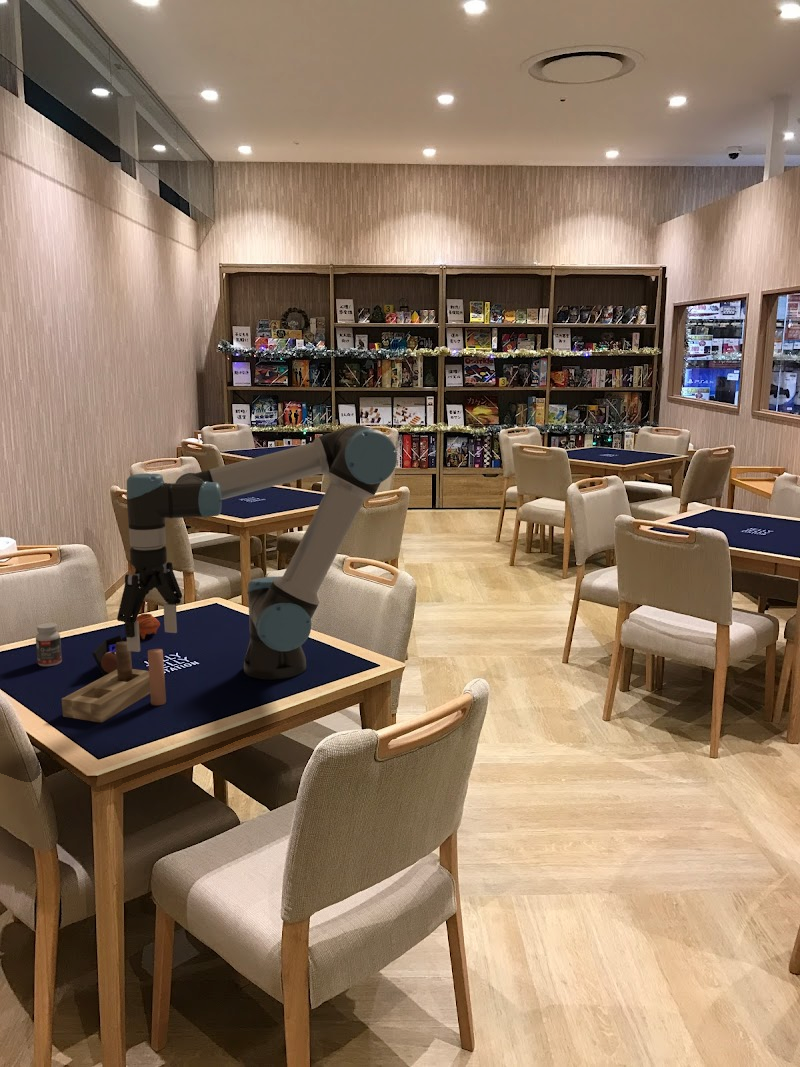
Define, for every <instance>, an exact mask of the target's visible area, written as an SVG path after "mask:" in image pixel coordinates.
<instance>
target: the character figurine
mask: <svg viewBox="0 0 800 1067" xmlns="http://www.w3.org/2000/svg"><path fill="white" fill-rule="evenodd" d="M123 641H124V640H123V639H122V636H121V635H120V634H119V635H116V636H114V637H111V638H109V639H105V640H103V641H102V642H101V643H100V644H99V646H97V647H96V648H95V650H94V651H93V652H92V653H91V654H92V656H93V658H94V660H95V662H96V664H97V666H98V669H99V672H100V673H101V675H102V677H103V676H105V675H107V674H109V673H111V672H113V671H115V670H117V661H116V648H115V644H116V643H118V642H123ZM132 652H133V651H131V653H132Z"/></svg>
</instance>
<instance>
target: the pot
mask: <svg viewBox="0 0 800 1067" xmlns="http://www.w3.org/2000/svg"><path fill="white" fill-rule="evenodd" d="M136 621H139V635H140V637H141V639H142V640H145V638H146V635H150V634H152V633H153V635H156V634H157V631H158V629H159V627H160V626H161V622H160V621H159V620H158V619H157V618H156V617H154V616H153V615H152V614H151V613H141V614H138V616H137V619H136Z"/></svg>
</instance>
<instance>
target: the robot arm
mask: <svg viewBox="0 0 800 1067" xmlns="http://www.w3.org/2000/svg"><path fill="white" fill-rule="evenodd" d="M397 461H398V454H397V449H396V446H395V444H394V442H393V441H392V440H391V438H390V437H389V436H388V435H387V434H385V433H384V432H383V431H381V430H379V429H376V428H373V427H368V426H365V425H360V424H359V425H350V426H347V427H344V428H343V427H342V428H341V429H337V430H335V431H332V432H330V433H327V434H323V435H319V436H316V437H315V438H314V440H313V442H310V443H305V444H303V445H298V446H295V447H291V448H287V449H283V450H282V449H281V450H278V451H275V452H272V453H268V454H263V455H261V456H256V457H253V458H249V459H244V460H241V461H237V462H233V463H229V464H226V465H222V466H217V467H214V468H210V469H207V470H202V471H199V472H187V473H184V474H181V475H180V476H179V477H178V478H177V479H176V481H175V482H174V483H168V482H164V477H163V476H162V474H159V473H138V474H137V473H136V474H132V475H130V476H129V477H128V478H127V479H126V505H127V506H126V508H127V522H128V533H129V536H128V537H129V546H130V547H131V548H130V549H129V554H130V555H129V558H130V559H129V560H130V565H131V566H133V567H134V574H127V573H126V574H125V576H124V586H123V591H122V596H121V600H120V603H119V604H120V605H119V609H118V614H117V617H116V620H117V622H122V623H124V629H125V631H124V632H125V637H126V641H127V651H132V652H134V653H136V652H137V653H139V652H141V640H140V639H141V638H140V637H141V635H140V634H139V621H136V619H137V617H138V615H140V610H141V608H142V606H143V604H144V601H145V598H146V596H147V595H148V594H149V593H150V591H153V589H156V590H157V592H158V593H159V594H160V596H161V597H162V598H163V600H164V602H166V603H163V620H164V633H170V634H171V633H172V634H177V633H178V627H177V626H178V625H177V624H178V623H177V614H178V613H177V605H179V604H181V599H182V598H183V594H182V591H181V588H180V586H179V583H178V581H177V578H176V575H175V572H174V568H173V563H172V562H170V561H168V558H167V556H168V555H167V554H168V552H167V547H166V546H165V545H166V544H167V533H166V519H178V518H210V517H218V516H220V514H221V513H222V507H223V506H222V505H223V504H222V500H223V501H224V500H227V499H229V498H233V497H237V496H238V497H239V496H242V495H245V494H248V493H253V492H256V491H260V490H264V489H268V488H271V487H274V486H275V487H276V486H279V485H282V484H286V483H290V482H295V481H297V480H303V479H305V478H309V477H310V478H311V477H313V476H317V475H320V474H322V475H323V476H325V477H329V480H330V483H329V484H328V486H327V489H326V491H325V493H324V495H323V496H322V498H321V501H320V503H319V505H318V507H317V508H316V510H315V513H314V514H313V516H312V518H311V520H310V522H309V524H308V526H307V527H306V530H305V532H304V534H303V536H302V539H301V540H300V542H299V544H298V546H297V548H296V550H295V552H294V553H293V555H292V558H291V560H290V562H289V563H288V565H287V567H286V569H285V572H284V573H283V575H282V576H266V577H265V576H264V577H259V578H253V579H251V580H250V581H248V585H247V591H246V593H247V594H248V595H247V596H248V597H247V598H248V620H249V622H248V623H249V624H248V625H249V643H248V646H247V650H246V653H245V656H244V660H243V672H244V673H245V675H247V676H248V677H250V678H254V679H258V680H283V679H289V678H292V677H296V676H298V675H300V674H303V673H304V672H305V670H306V669H307V659H306V656H305V652H304V650H303V647H302V645H303V644H304V643H306V641H307V640H308V638H309V636H310V634H311V630H312V618H313V616H314V614H315V612H316V610H317V609H318V606H319V604H320V601H319V597H318V592H319V590H320V588H321V586H322V584H323V583H324V579H325V578H326V576H327V574H328V572H329V570H330V568H331V566H332V564H333V562H334V561H335V559H336V556H337V555H338V553H339V550H340V549H341V547H342V545H343V542H344V541H345V538H346V537H347V535H348V534H349V531H350V529H351V528H352V525H353V523H354V521H355V519H356V518H357V515H358V513H359V512H360V509H361V508H362V506H363V504H364V502H365V500H368V499H369V498H373V497H375V495H376V493H377V491H378V489H379V487H380V485H381V483H383V482H384V481H386V480H387V479H388V478H390V476H391V475H392V474H393V472H394V471H395V469H396V465H397Z"/></svg>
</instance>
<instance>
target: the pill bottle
mask: <svg viewBox="0 0 800 1067" xmlns="http://www.w3.org/2000/svg"><path fill="white" fill-rule="evenodd" d="M36 630H37V632H38V633H37V634H36V636H35V646H36V656H37V657H36V659H37V660H36V661H37V664H38V665H39V666H40V667H52V666H53V667H54V666H57V665H59V664H61V662H62V661H63V657H62V656H63V654H62V642H61V634H60V632H58V631H57V630H58V624H57V623H55V622H45V623H40V624H38V625H37V626H36Z"/></svg>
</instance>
